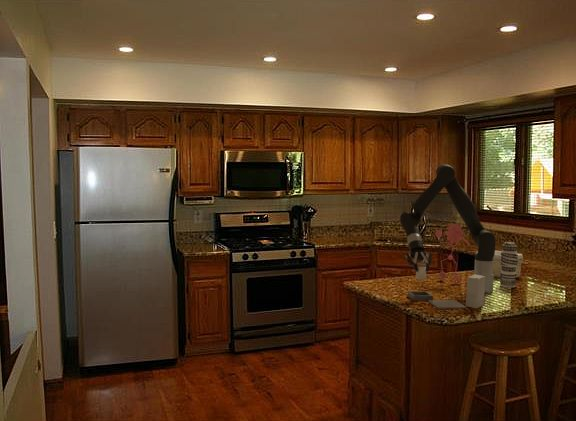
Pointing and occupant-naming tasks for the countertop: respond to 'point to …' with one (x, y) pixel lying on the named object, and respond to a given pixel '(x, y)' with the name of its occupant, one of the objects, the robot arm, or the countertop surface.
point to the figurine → (453, 236)
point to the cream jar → (421, 271)
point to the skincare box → (475, 291)
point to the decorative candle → (508, 265)
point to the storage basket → (498, 267)
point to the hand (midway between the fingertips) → (422, 270)
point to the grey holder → (420, 295)
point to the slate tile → (446, 304)
